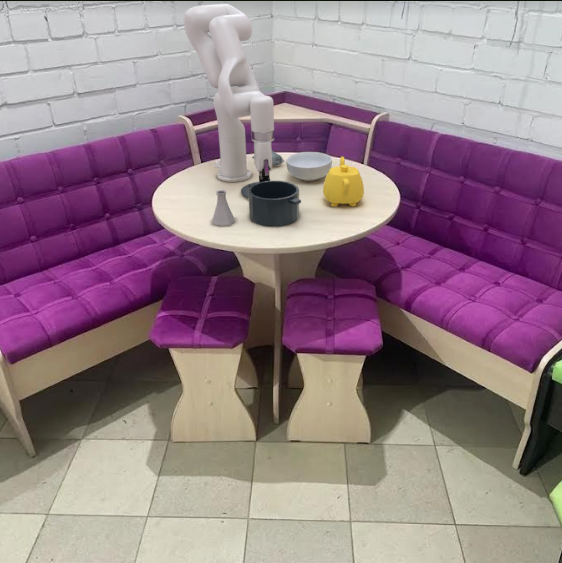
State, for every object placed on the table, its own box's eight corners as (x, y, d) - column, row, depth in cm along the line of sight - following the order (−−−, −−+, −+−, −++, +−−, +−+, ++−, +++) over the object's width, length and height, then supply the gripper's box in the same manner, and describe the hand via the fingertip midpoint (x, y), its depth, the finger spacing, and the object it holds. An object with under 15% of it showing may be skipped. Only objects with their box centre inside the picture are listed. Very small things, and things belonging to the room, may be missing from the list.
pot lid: (264, 206, 186) (263, 187, 183) (231, 193, 196) (230, 175, 193) (298, 192, 196) (298, 173, 193) (265, 180, 206) (265, 163, 203)
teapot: (359, 188, 198) (361, 154, 192) (366, 212, 181) (368, 175, 175) (321, 189, 198) (322, 155, 192) (324, 212, 181) (325, 176, 175)
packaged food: (265, 170, 215) (265, 158, 212) (251, 161, 224) (251, 149, 221) (285, 167, 218) (285, 154, 216) (270, 158, 227) (270, 146, 225)
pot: (280, 234, 169) (279, 206, 164) (233, 214, 181) (232, 188, 177) (315, 218, 178) (315, 191, 173) (268, 200, 191) (268, 174, 186)
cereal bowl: (292, 167, 217) (292, 149, 214) (335, 171, 213) (336, 153, 210) (281, 183, 204) (280, 164, 200) (326, 187, 200) (326, 168, 196)
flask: (231, 227, 173) (229, 197, 168) (208, 225, 174) (206, 195, 169) (237, 217, 179) (235, 188, 174) (215, 216, 180) (213, 186, 175)
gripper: (248, 129, 192) (250, 180, 201) (255, 143, 178) (257, 197, 188) (270, 127, 193) (271, 178, 203) (278, 141, 179) (279, 195, 189)
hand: (264, 187), depth 195 cm, fingers closed on pot lid, 2 cm apart
